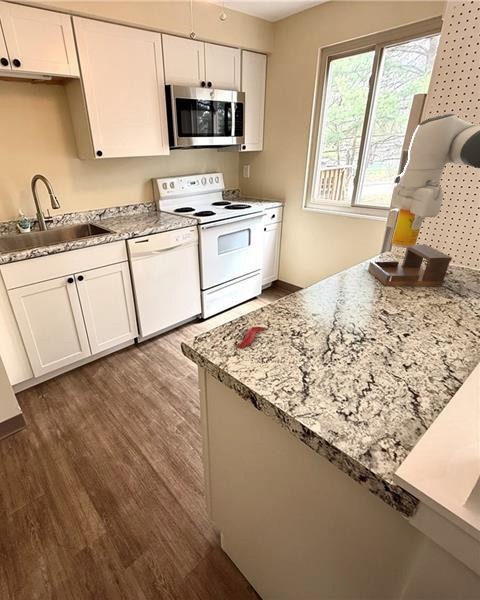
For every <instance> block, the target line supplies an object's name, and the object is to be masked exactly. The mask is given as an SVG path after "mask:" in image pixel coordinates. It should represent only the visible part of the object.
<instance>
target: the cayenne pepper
mask: <svg viewBox="0 0 480 600" xmlns="http://www.w3.org/2000/svg"><path fill="white" fill-rule="evenodd" d="M265 330H266V328H265V327H262V326H252V327H250V328H247V330H246V333H245V336H244V338H243V340H242V341H241V342H240V343H239V344H238V345H237V346H236V348H247V347H250V346H251V345H252V344H253V343H254V341H255V337H256V335H257V333H259V332H262V331H265Z"/></svg>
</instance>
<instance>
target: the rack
mask: <svg viewBox="0 0 480 600" xmlns="http://www.w3.org/2000/svg"><path fill="white" fill-rule="evenodd" d="M405 249H406V250H405V253H404V257H403V260H402V263H401V266H400V265H399V263H400V261H399V260H375V261H373V260H370V261H369V265H368V269H367V271H368V272H369V273H370V274H371V275H372V276H374V277H375V278H376V279H377V280H378V281H379V282H380V283H381V284H383V285H384V286H387V287H389V286H390V287H442V286H443V283H444V280H445V278H446V274H447V272H448V269H449V265H450V263H451V262H452V260H453V257H451V256H450V255H448V254H447V253H444V252H443V251H440V250H438V249H436V248H434V247H432V246H430V245H428V244H415V245H414V246H413V247H409V248H405ZM423 260H426V261H427V262H426V265H425V269H424V268H422V267H421V266H422V264H423Z"/></svg>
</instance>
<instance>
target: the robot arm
mask: <svg viewBox="0 0 480 600" xmlns="http://www.w3.org/2000/svg"><path fill="white" fill-rule="evenodd" d="M411 138H412V139H411V142H410V145H409V149H408V152H407V153H408V154H407V155H408V160H407V163H406V165H405V166H404V169H403V172H401V174H397V175H396V176H395V177H394V180H393V181H394V182H393V183H394V184H395V185H394V187H393V191H392V196H391V202H390V203H391V206H392V207H393V208H396V209H398V212H399V211H400V207H401V203H402V200H403V199H404V197H405V196H407V197H409V198H414V199H412V205H411V209H410V213H413V214H415V217H414V218H415V220H414V221H413V223H411V226H410V228H411V229H413V230H418V229H419V228H420V229H421V227H420V224H421V223H422V224H423V222H424V220H425V219H426V218H437V217H438V215H439V214H440V212H441V208H442V204H443V199H444V190H443V189H442V187H441V180H442V177H443V174H444V170H445V167H446V165H447V164H454V165H458V166H468V167H472V168H477V169H480V124H478V125H477V124H475V123H472V122H469V121H466V120H463V119H461V118H460V117H458V116H457V115H456V113H447V114H443V115H437V116H434V117H430V118H427V119H425V120H423V121H421V122H420V123H419V124H418V125H417V127H416V129H415V130H414V133H413V136H412V137H411ZM407 197H406V198H407ZM422 224H421V225H422Z"/></svg>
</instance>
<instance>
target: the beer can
mask: <svg viewBox="0 0 480 600" xmlns="http://www.w3.org/2000/svg"><path fill="white" fill-rule="evenodd" d="M406 197H407V196H405V197H404V199H403V200H402V203H401V207H400V211H399V210H398V215H397V219H396V223H395V227H394V231H393V234H392V237H391V238H392V239H391V244H392V246H393V247H396V248H403V249H404V248H405V249H406V248H409V247H413V246H414V245H417V241H418V238H419V235H420V231H421V228H422V224H423V222H422V223H421V224H420V228H419V229H418V230H413V229H411V228H410V226H411V223H413V221H414V220H415V218H414V217H415V214H413V213H410V209H411V205H412V199H414V198H409V197H407V198H406Z"/></svg>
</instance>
